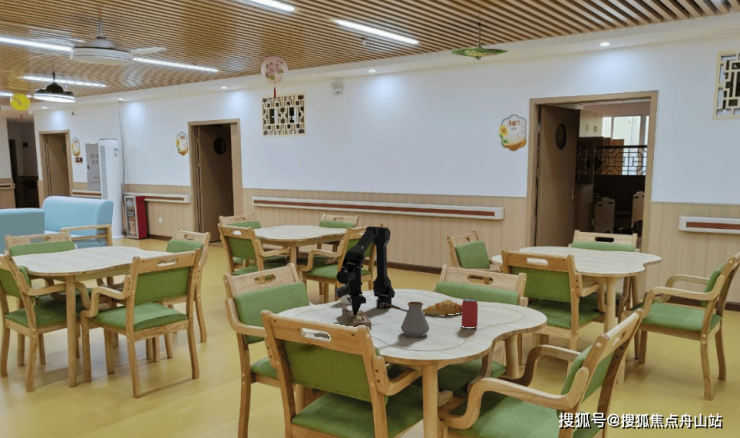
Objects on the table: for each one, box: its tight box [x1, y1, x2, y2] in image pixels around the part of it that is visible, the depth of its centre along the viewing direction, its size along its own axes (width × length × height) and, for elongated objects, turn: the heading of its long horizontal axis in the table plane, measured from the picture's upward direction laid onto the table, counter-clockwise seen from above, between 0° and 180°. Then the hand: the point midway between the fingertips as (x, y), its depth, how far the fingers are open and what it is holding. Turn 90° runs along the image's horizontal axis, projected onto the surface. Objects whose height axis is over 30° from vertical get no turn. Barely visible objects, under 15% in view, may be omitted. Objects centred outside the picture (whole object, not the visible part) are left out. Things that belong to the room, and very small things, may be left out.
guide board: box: [341, 305, 372, 330], centre depth 243 cm, size 9×20×6 cm, turn 13°
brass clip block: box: [353, 316, 362, 321], centre depth 238 cm, size 4×4×5 cm
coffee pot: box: [380, 301, 430, 338], centre depth 224 cm, size 21×12×15 cm, turn 115°
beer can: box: [461, 297, 479, 327], centre depth 236 cm, size 7×7×12 cm
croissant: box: [422, 298, 462, 316], centre depth 258 cm, size 21×10×8 cm, turn 98°
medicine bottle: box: [339, 283, 351, 305], centre depth 275 cm, size 7×7×12 cm
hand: (354, 315), depth 241 cm, fingers closed
